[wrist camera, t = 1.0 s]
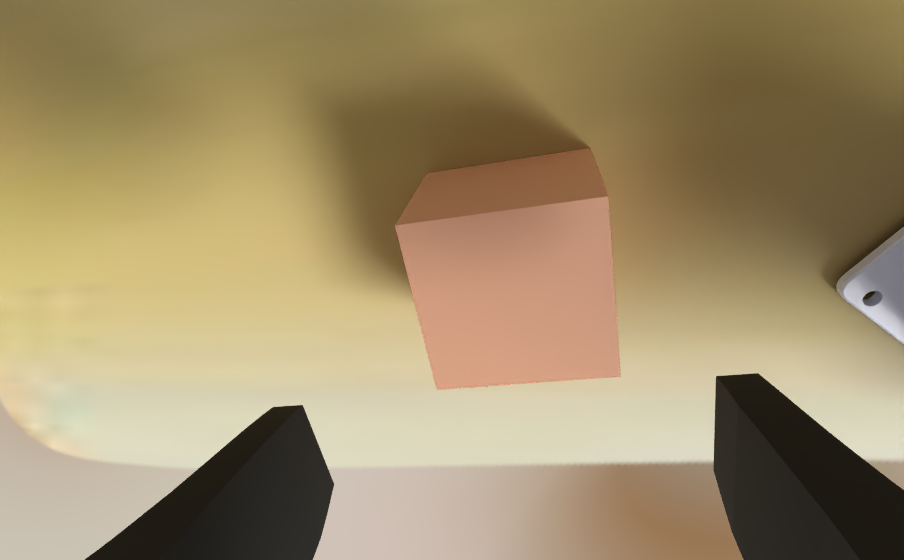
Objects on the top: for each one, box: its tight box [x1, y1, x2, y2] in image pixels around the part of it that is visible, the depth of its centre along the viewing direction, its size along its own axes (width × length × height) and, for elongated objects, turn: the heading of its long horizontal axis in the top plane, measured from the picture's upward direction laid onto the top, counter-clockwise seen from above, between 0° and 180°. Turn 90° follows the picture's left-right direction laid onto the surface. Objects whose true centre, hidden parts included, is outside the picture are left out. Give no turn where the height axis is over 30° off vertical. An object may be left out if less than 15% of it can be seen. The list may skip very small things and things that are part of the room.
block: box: [395, 148, 621, 390], centre depth 16 cm, size 5×5×4 cm
